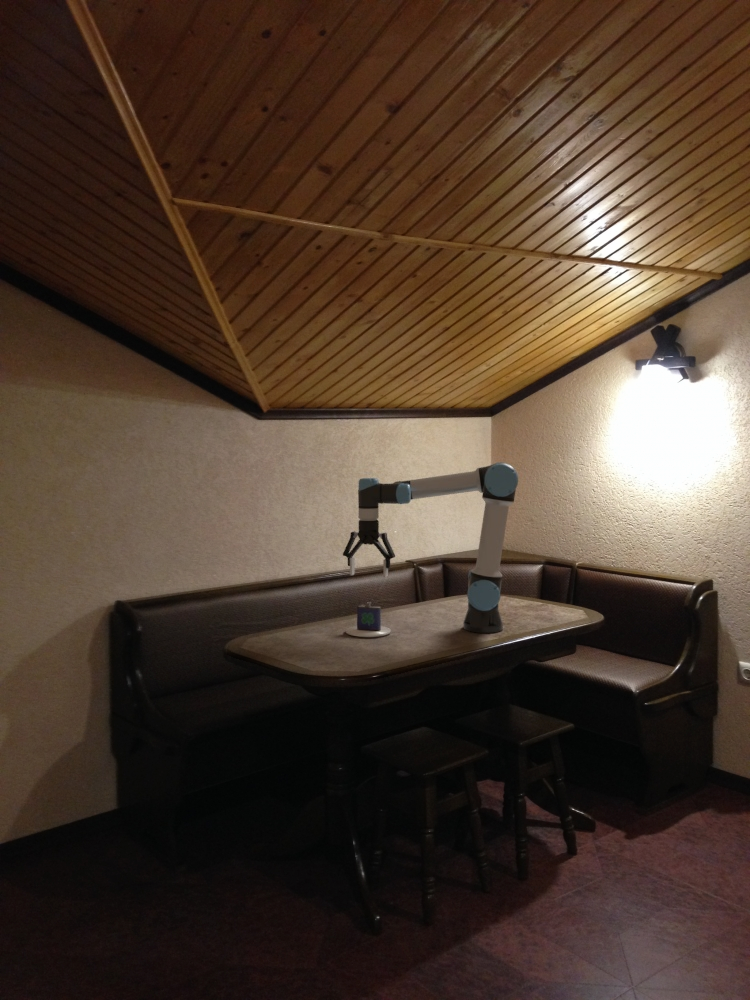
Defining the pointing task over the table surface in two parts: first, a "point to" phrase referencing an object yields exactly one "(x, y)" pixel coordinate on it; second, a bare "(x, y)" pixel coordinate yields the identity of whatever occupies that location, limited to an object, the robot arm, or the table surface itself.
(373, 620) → the blue hip flask
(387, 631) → the plate
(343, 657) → the table surface
